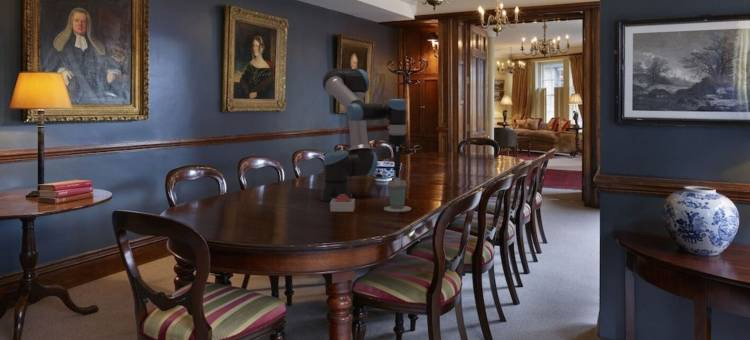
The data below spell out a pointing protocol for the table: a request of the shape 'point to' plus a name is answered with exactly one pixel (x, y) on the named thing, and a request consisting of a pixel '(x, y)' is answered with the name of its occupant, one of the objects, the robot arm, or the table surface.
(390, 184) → the coffee cup
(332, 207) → the popper housing
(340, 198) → the dome plunger
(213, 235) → the table surface
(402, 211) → the pad
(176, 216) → the table surface
